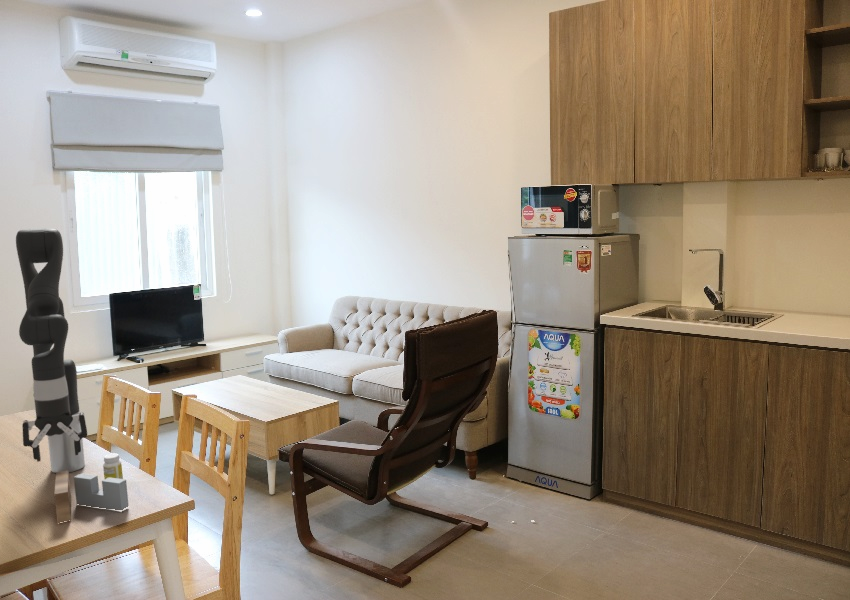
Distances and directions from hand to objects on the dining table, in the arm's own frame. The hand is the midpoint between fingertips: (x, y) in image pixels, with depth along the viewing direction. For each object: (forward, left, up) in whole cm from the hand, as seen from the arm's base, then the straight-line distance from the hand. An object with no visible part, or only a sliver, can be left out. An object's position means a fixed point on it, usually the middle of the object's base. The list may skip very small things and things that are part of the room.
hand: (58, 457), depth 181 cm
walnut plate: (-6, 0, -17) cm, 18 cm away
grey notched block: (-4, +9, -17) cm, 19 cm away
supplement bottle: (-19, +12, -17) cm, 28 cm away
